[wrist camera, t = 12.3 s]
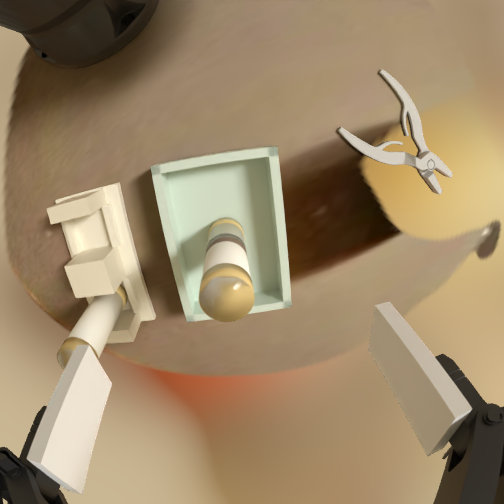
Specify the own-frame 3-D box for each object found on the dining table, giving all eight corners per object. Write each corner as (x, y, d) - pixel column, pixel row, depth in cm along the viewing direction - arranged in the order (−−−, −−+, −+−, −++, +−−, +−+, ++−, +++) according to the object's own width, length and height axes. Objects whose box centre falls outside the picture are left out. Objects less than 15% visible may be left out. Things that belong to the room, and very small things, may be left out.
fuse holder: (58, 198, 26) (34, 210, 22) (119, 182, 27) (100, 191, 22) (99, 321, 32) (86, 345, 28) (155, 315, 33) (147, 342, 28)
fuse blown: (205, 220, 28) (193, 279, 17) (240, 214, 28) (250, 270, 17) (211, 252, 30) (205, 324, 19) (245, 247, 30) (257, 317, 19)
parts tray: (159, 163, 26) (150, 166, 23) (270, 145, 27) (277, 146, 24) (190, 304, 33) (187, 322, 29) (285, 290, 33) (291, 306, 30)
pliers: (387, 66, 23) (463, 155, 27) (380, 69, 25) (455, 154, 29) (341, 132, 26) (427, 216, 30) (335, 132, 27) (420, 212, 31)
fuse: (96, 282, 30) (50, 348, 18) (122, 278, 30) (81, 348, 19) (106, 308, 31) (68, 378, 20) (131, 305, 31) (99, 379, 20)
